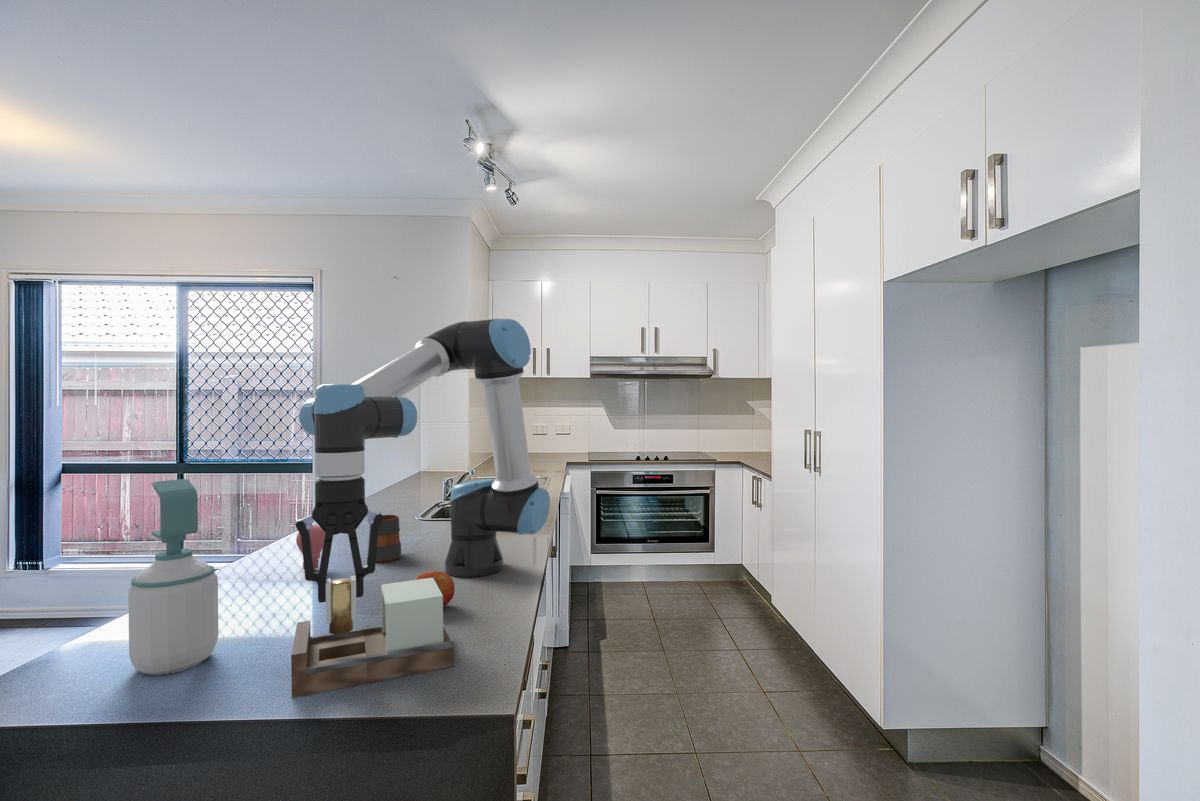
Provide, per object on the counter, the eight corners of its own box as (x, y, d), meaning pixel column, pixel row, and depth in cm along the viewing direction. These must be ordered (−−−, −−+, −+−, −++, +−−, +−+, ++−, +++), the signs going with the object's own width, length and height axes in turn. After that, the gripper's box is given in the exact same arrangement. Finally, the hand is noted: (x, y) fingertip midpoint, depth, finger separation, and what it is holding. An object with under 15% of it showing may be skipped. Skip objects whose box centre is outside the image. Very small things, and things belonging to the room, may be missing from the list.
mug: (407, 551, 170) (407, 511, 170) (396, 562, 158) (395, 520, 158) (378, 552, 170) (377, 512, 170) (364, 563, 158) (363, 521, 158)
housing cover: (433, 622, 107) (432, 577, 107) (443, 644, 97) (442, 595, 97) (381, 630, 103) (381, 584, 103) (386, 655, 93) (385, 604, 93)
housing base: (440, 634, 109) (440, 600, 109) (454, 665, 96) (453, 626, 96) (297, 660, 99) (297, 622, 99) (291, 698, 86) (291, 655, 86)
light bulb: (332, 569, 153) (331, 524, 153) (306, 576, 147) (305, 529, 147) (316, 565, 156) (316, 521, 156) (290, 572, 150) (290, 526, 150)
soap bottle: (205, 641, 107) (203, 474, 107) (229, 660, 99) (227, 479, 99) (120, 666, 97) (117, 482, 97) (139, 689, 89) (136, 489, 89)
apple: (412, 605, 125) (412, 568, 125) (452, 599, 128) (451, 564, 128) (414, 617, 118) (414, 579, 118) (456, 612, 120) (455, 574, 120)
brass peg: (352, 624, 97) (353, 577, 97) (352, 632, 94) (352, 583, 94) (329, 627, 96) (329, 579, 96) (328, 635, 93) (328, 586, 93)
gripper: (390, 471, 102) (391, 604, 102) (286, 477, 95) (287, 619, 95) (393, 476, 95) (394, 618, 95) (282, 483, 88) (283, 635, 88)
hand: (341, 618), depth 95 cm, fingers closed on brass peg, 3 cm apart
